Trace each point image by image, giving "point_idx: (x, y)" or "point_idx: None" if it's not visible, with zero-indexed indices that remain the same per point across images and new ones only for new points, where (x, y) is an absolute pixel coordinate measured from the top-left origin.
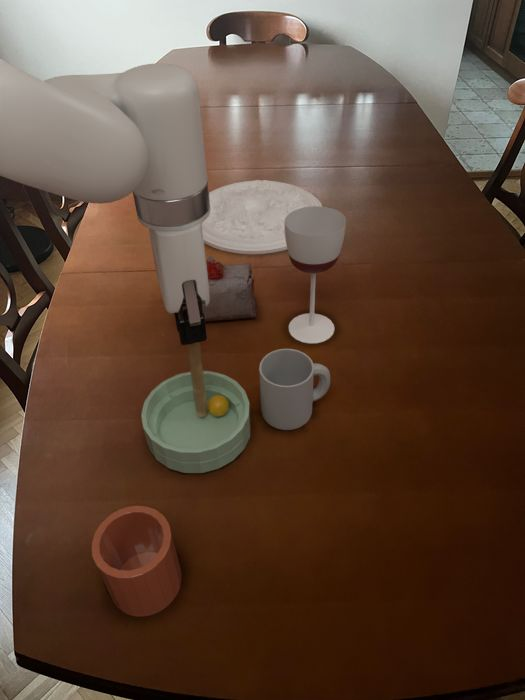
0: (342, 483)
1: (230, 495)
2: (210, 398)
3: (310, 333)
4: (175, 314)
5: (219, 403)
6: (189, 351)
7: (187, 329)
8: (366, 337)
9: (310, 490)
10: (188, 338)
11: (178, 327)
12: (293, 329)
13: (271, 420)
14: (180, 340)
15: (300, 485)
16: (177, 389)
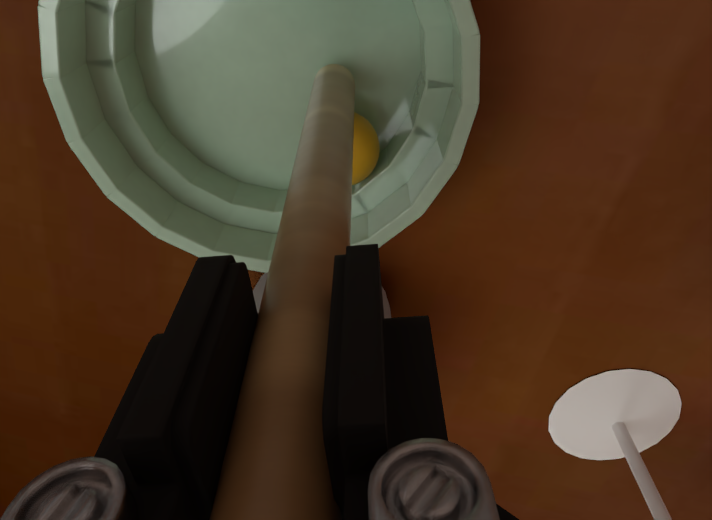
0: (89, 369)
1: (34, 122)
2: (361, 134)
3: (588, 414)
4: (338, 366)
5: None
6: (286, 230)
7: (113, 428)
8: (522, 502)
9: (65, 308)
10: (149, 353)
11: (149, 369)
12: (629, 381)
13: (265, 282)
14: (191, 276)
15: (79, 292)
16: (446, 8)
